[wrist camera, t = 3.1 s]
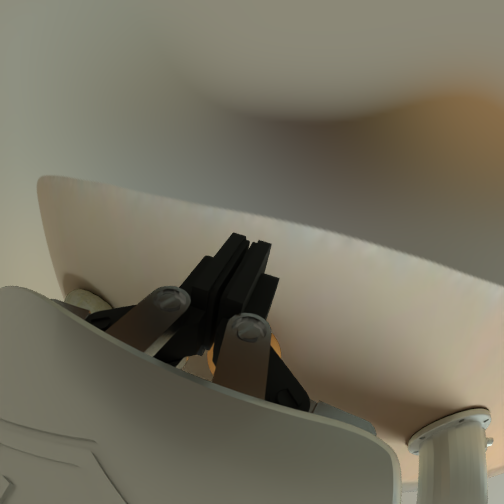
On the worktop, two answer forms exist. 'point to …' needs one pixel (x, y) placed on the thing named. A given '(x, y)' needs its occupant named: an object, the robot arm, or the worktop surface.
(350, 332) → the worktop surface
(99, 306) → the sea urchin shell
